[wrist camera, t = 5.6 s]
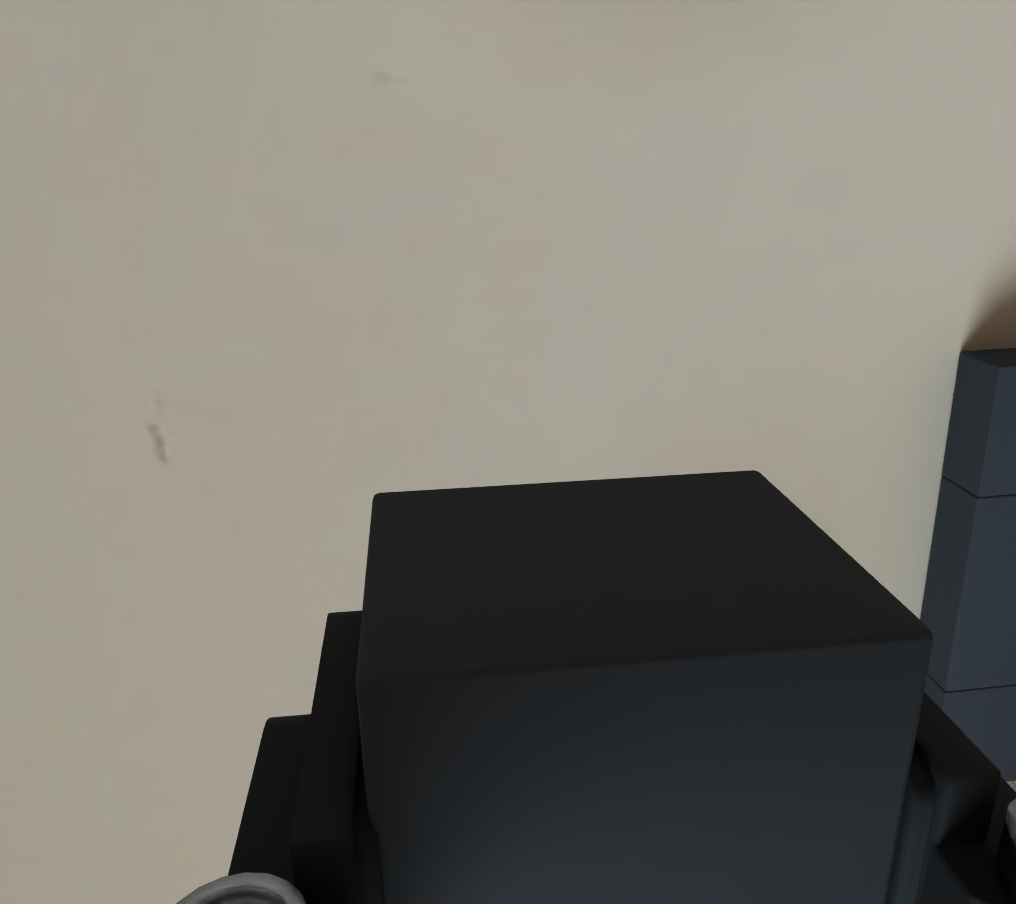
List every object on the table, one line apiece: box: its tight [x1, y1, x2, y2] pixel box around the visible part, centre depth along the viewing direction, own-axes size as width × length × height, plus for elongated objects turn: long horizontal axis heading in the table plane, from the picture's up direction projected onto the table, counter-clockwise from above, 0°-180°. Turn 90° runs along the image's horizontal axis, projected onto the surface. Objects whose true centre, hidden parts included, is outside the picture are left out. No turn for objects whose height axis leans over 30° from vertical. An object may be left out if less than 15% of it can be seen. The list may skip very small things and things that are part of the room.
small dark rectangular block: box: [356, 470, 933, 904], centre depth 10 cm, size 6×5×4 cm
